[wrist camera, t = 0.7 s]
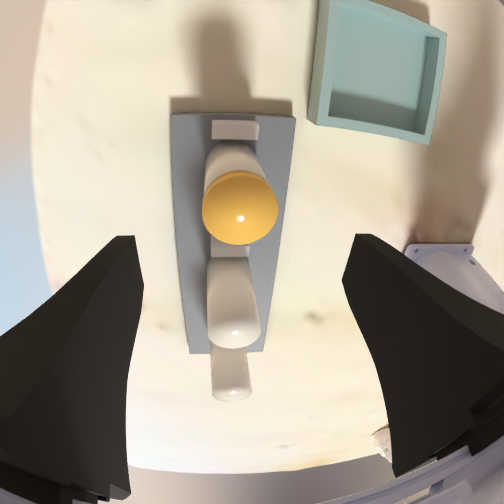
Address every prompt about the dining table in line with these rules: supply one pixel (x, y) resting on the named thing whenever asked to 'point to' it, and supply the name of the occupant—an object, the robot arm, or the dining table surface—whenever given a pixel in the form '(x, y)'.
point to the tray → (375, 70)
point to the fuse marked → (237, 195)
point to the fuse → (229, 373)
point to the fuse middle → (231, 303)
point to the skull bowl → (383, 443)
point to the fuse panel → (190, 208)
